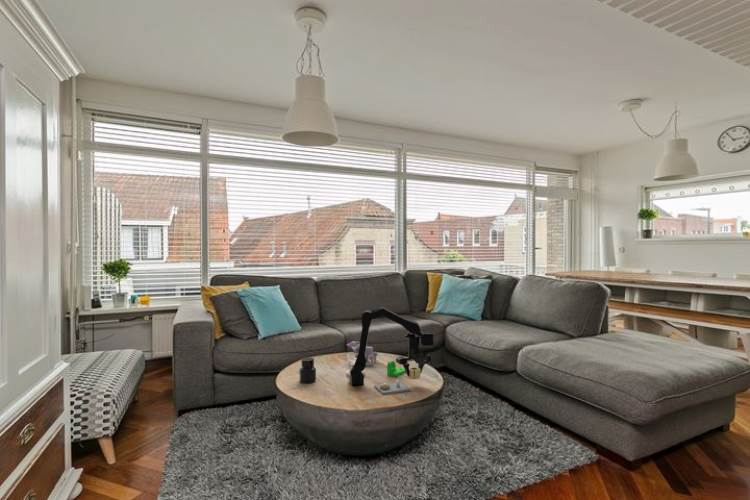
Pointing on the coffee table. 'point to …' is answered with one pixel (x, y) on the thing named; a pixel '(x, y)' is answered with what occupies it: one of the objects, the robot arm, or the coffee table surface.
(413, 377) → the gear
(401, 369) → the mechanical part
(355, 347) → the toy sheep
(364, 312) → the robot arm
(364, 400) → the coffee table surface
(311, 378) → the ink bottle
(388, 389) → the carrier board
